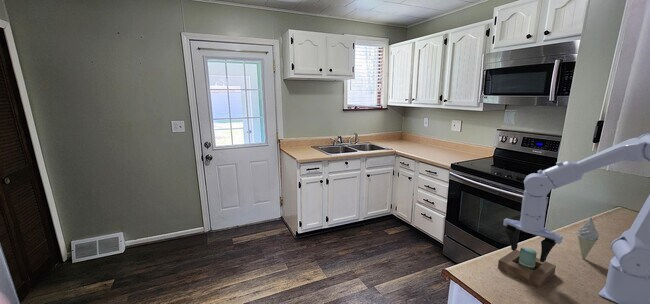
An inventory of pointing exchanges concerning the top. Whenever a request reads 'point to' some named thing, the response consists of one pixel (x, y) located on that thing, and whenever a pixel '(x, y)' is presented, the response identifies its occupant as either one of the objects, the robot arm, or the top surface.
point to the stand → (532, 277)
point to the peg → (527, 258)
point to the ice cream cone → (587, 237)
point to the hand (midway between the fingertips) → (527, 254)
